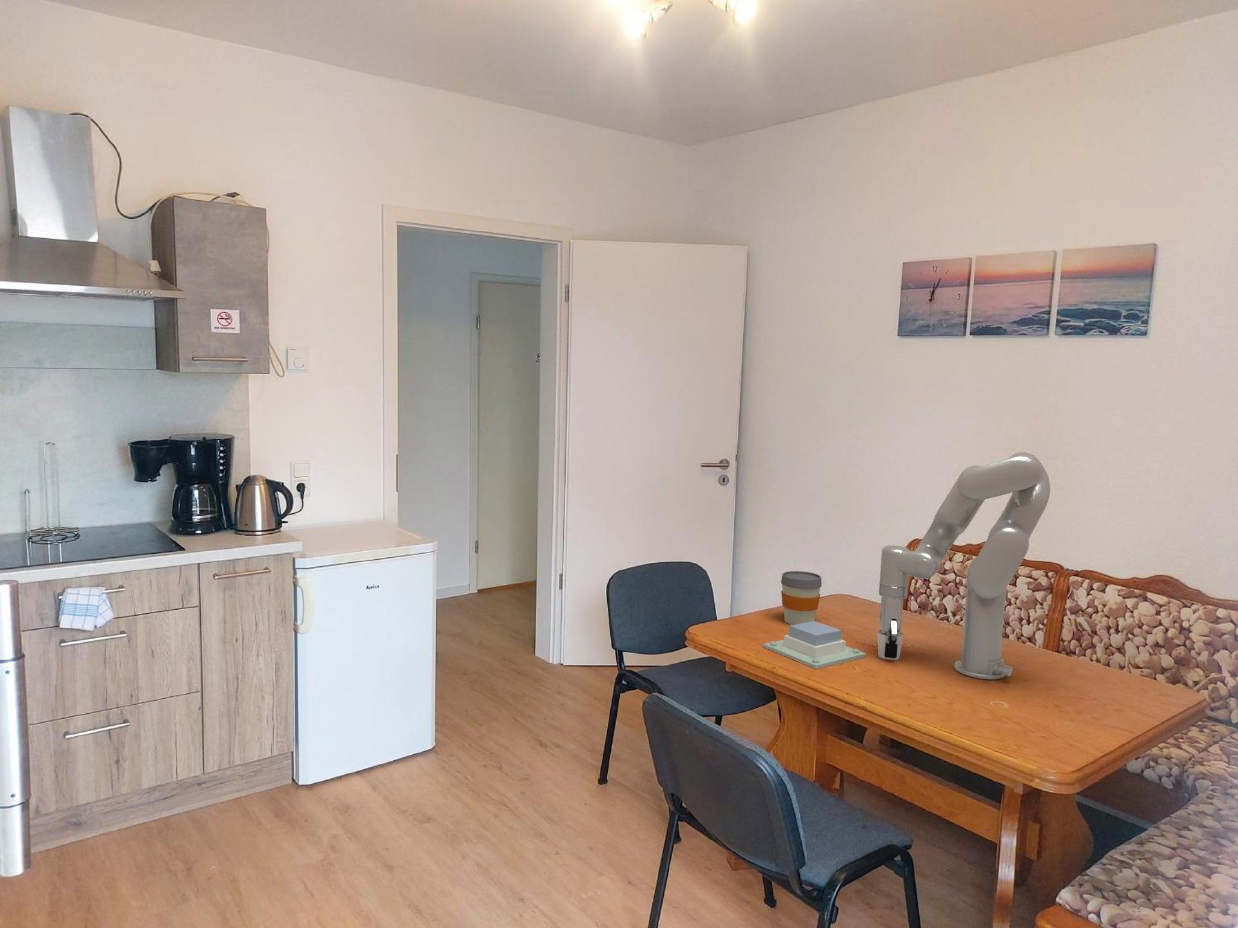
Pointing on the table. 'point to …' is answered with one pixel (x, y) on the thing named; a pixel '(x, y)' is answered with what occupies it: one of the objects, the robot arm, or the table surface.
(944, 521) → the robot arm
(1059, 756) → the table surface
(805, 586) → the reusable coffee cup
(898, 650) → the white tapered cup
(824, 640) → the stepped tiered stack
